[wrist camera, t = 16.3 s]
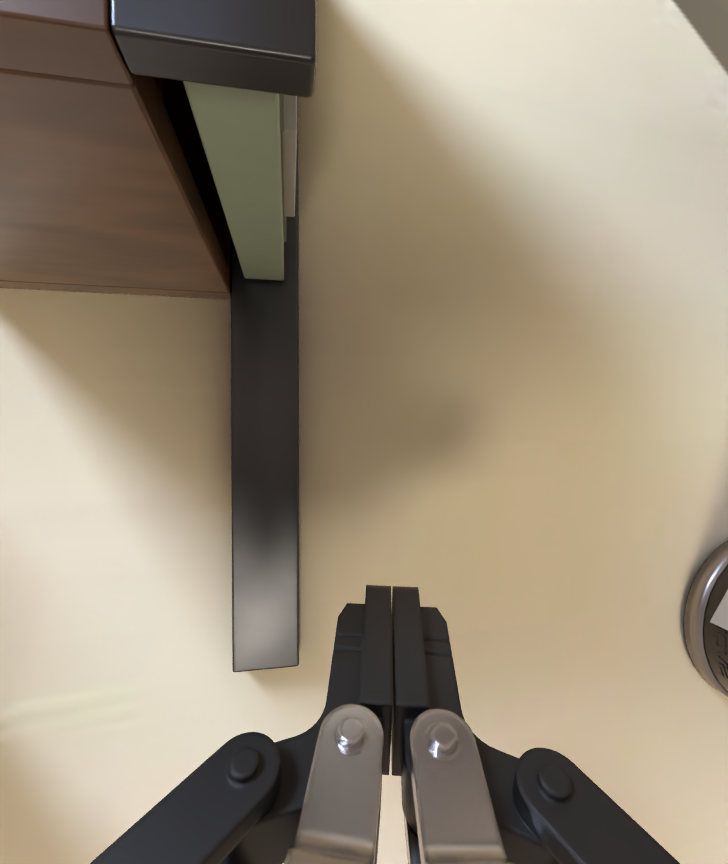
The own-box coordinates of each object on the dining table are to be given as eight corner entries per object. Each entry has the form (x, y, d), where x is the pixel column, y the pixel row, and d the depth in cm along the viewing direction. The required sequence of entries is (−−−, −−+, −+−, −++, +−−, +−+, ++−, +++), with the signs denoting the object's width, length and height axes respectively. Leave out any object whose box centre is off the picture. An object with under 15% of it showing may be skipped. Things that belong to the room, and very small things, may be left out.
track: (297, -66, 19) (316, -1149, 6) (298, 654, 19) (316, 1106, 7) (231, -79, 18) (89, -1296, 5) (235, 660, 19) (122, 1160, 6)
